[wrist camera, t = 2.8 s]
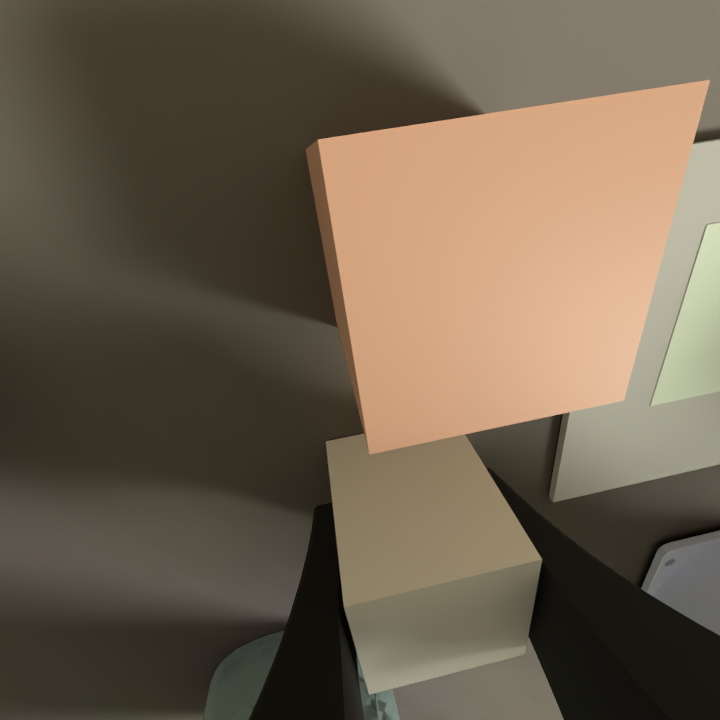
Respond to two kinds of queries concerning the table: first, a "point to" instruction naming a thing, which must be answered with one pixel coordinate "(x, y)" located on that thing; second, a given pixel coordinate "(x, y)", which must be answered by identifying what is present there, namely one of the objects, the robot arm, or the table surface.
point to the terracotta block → (499, 257)
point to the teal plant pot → (248, 674)
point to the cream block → (428, 560)
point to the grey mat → (662, 362)
